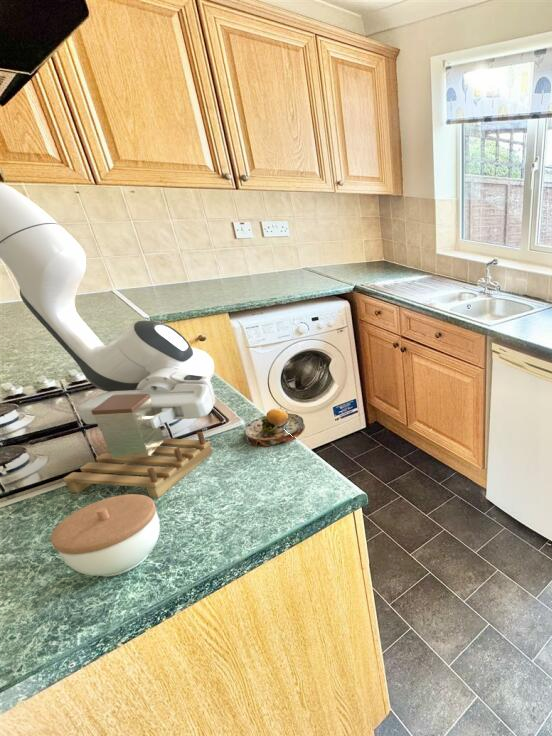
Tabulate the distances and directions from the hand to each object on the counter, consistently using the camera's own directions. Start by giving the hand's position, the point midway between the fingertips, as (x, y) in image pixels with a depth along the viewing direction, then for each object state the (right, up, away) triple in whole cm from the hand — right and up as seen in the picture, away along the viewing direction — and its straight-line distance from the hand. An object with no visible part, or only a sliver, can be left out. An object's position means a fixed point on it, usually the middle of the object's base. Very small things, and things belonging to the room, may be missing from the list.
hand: (127, 426), depth 75 cm
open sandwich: (+15, -4, +20) cm, 25 cm away
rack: (-1, -9, +5) cm, 10 cm away
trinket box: (+12, -18, -13) cm, 25 cm away
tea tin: (-1, -5, +3) cm, 6 cm away
